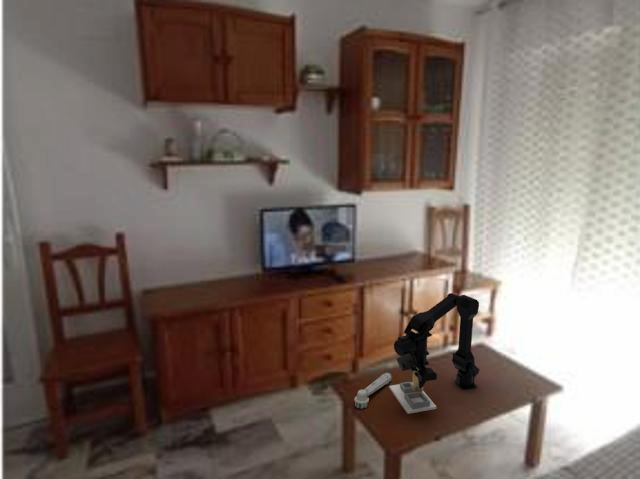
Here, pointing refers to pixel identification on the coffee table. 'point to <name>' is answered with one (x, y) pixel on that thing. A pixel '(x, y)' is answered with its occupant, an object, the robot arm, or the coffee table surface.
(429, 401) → the white socket board
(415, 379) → the gold metallic cylinder
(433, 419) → the coffee table surface
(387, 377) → the white handheld shower head
